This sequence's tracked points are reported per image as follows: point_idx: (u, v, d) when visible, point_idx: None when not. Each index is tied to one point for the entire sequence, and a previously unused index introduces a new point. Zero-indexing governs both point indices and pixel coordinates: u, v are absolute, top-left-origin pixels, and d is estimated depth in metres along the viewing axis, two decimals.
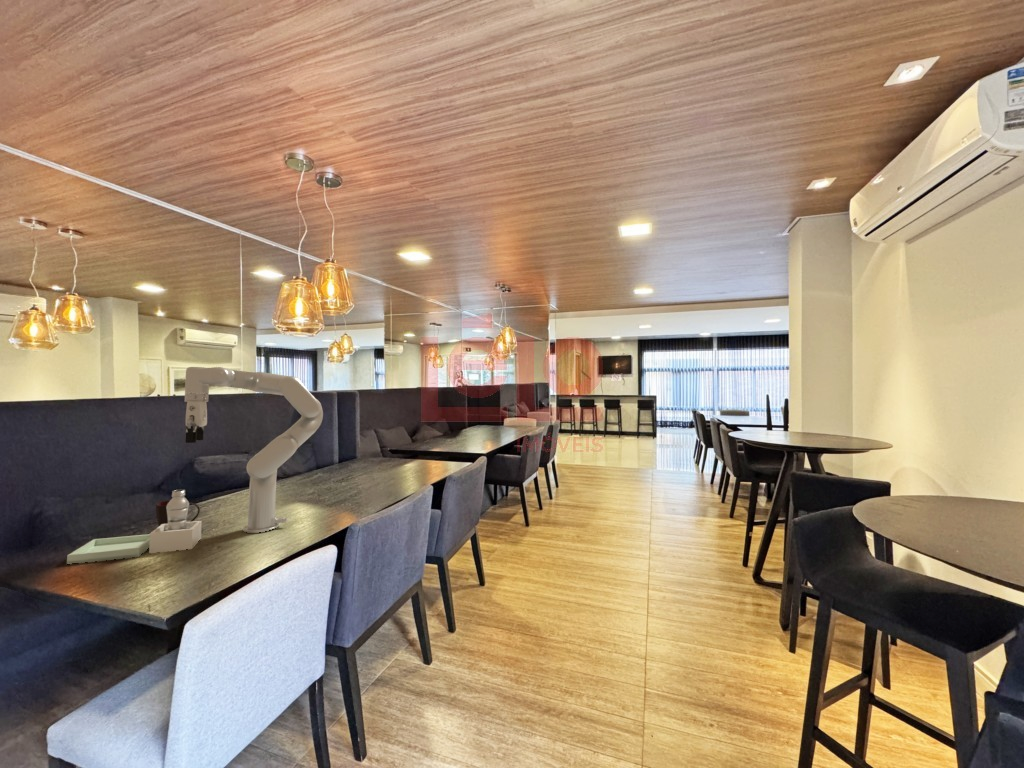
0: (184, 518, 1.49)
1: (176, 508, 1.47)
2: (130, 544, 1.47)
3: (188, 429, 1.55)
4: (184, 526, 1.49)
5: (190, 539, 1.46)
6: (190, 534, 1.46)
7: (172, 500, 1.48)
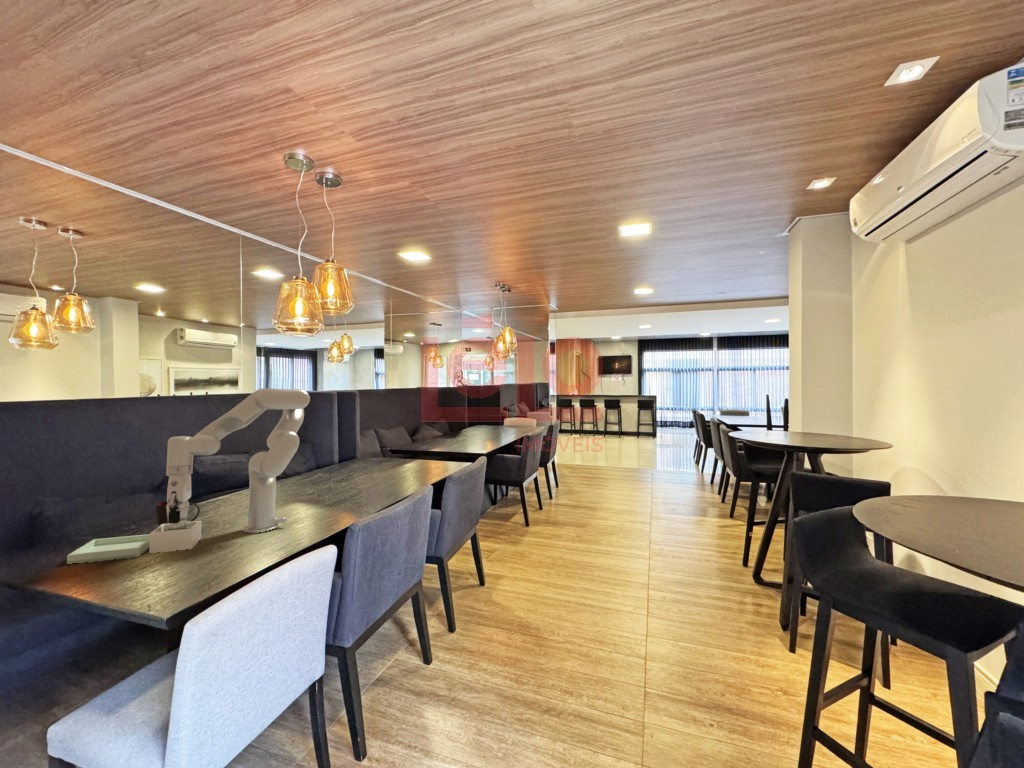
0: (184, 518, 1.49)
1: None
2: (130, 544, 1.47)
3: (170, 509, 1.44)
4: (184, 526, 1.50)
5: (190, 539, 1.46)
6: (190, 534, 1.46)
7: None
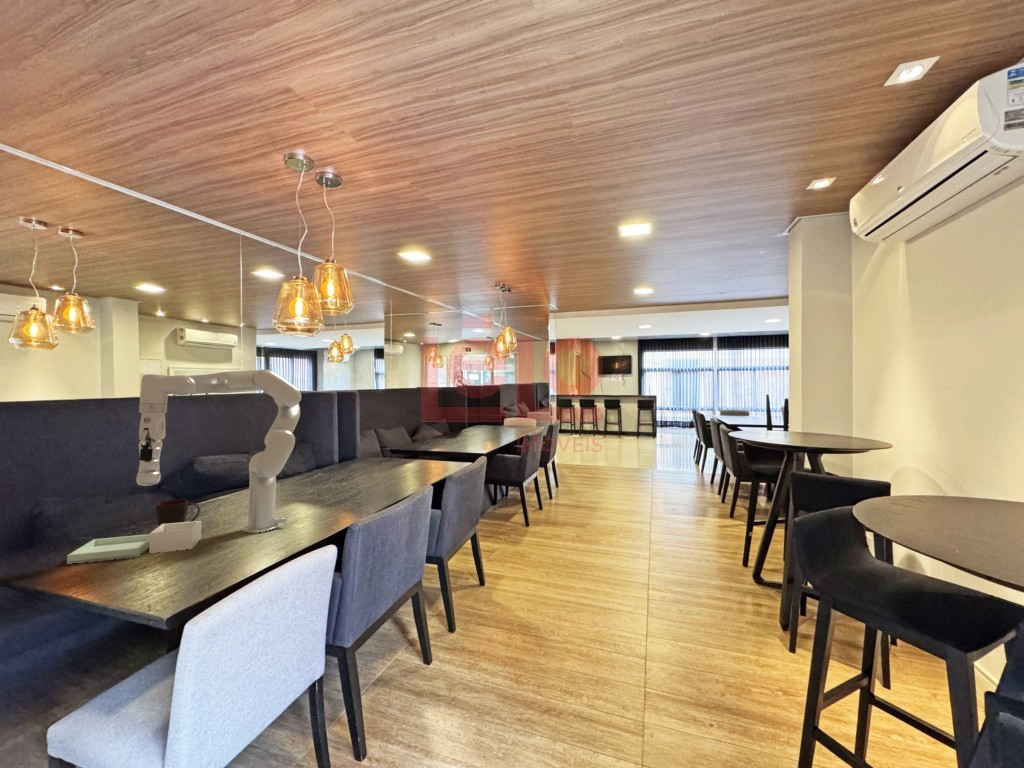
0: (157, 457, 1.47)
1: None
2: (130, 544, 1.47)
3: (142, 445, 1.42)
4: (157, 465, 1.47)
5: (190, 539, 1.46)
6: (190, 534, 1.46)
7: None
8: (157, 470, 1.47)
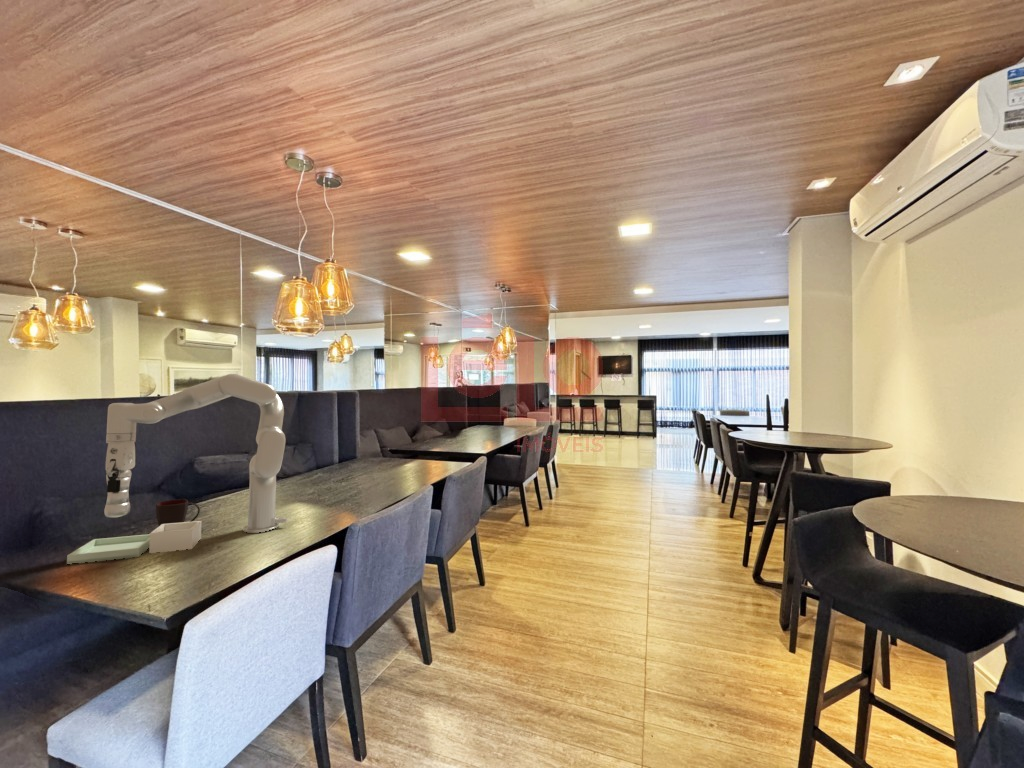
0: (125, 488, 1.43)
1: None
2: (130, 544, 1.47)
3: (109, 477, 1.38)
4: (125, 496, 1.43)
5: (190, 539, 1.46)
6: (190, 534, 1.46)
7: None
8: (126, 501, 1.43)
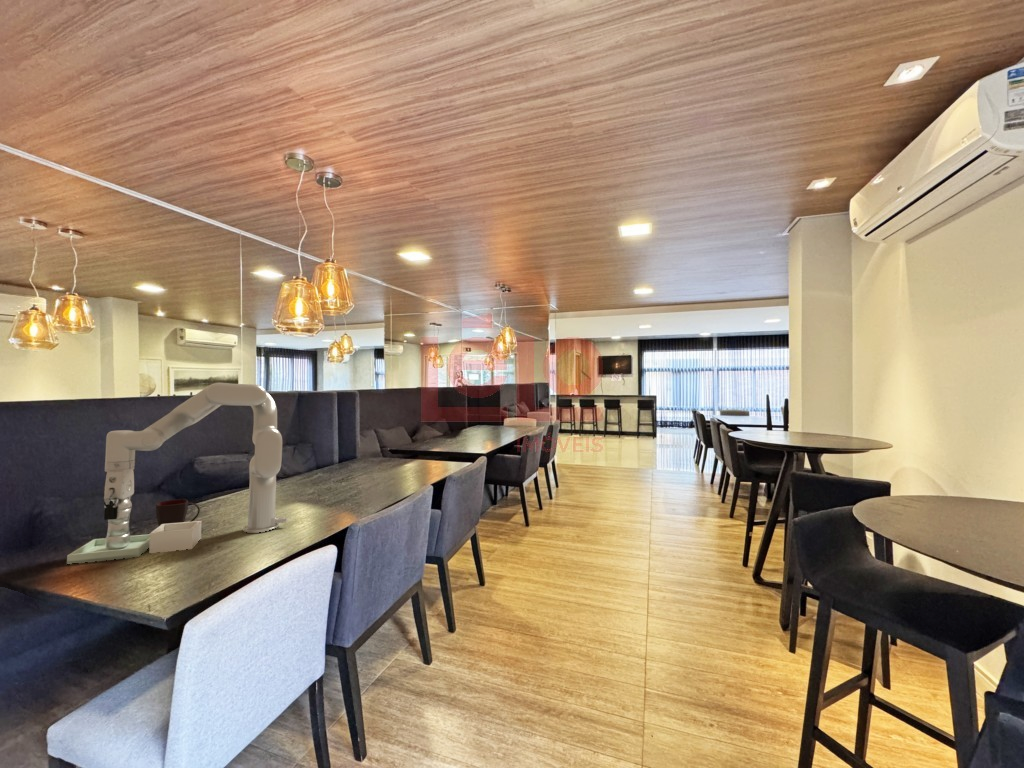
0: (126, 519, 1.44)
1: None
2: (130, 544, 1.47)
3: (106, 505, 1.37)
4: (126, 527, 1.44)
5: (190, 539, 1.46)
6: (190, 534, 1.46)
7: None
8: (126, 532, 1.44)
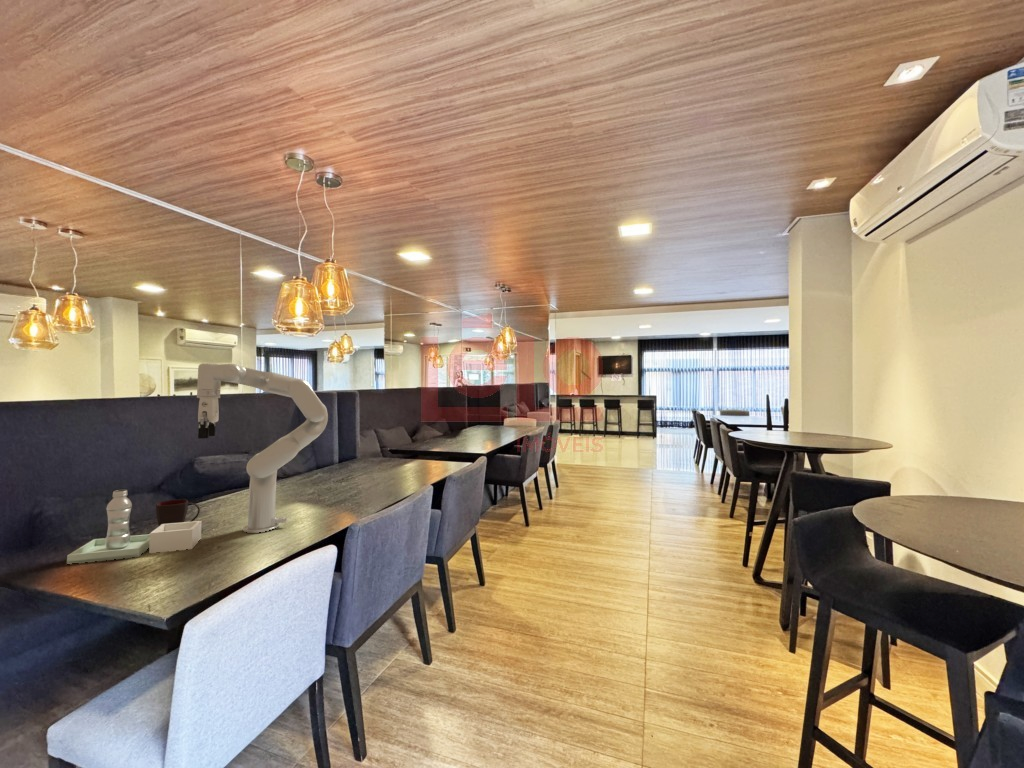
0: (126, 519, 1.44)
1: (116, 508, 1.41)
2: (130, 544, 1.47)
3: (200, 425, 1.57)
4: (126, 527, 1.44)
5: (190, 539, 1.46)
6: (190, 534, 1.46)
7: (113, 500, 1.42)
8: (126, 532, 1.44)
